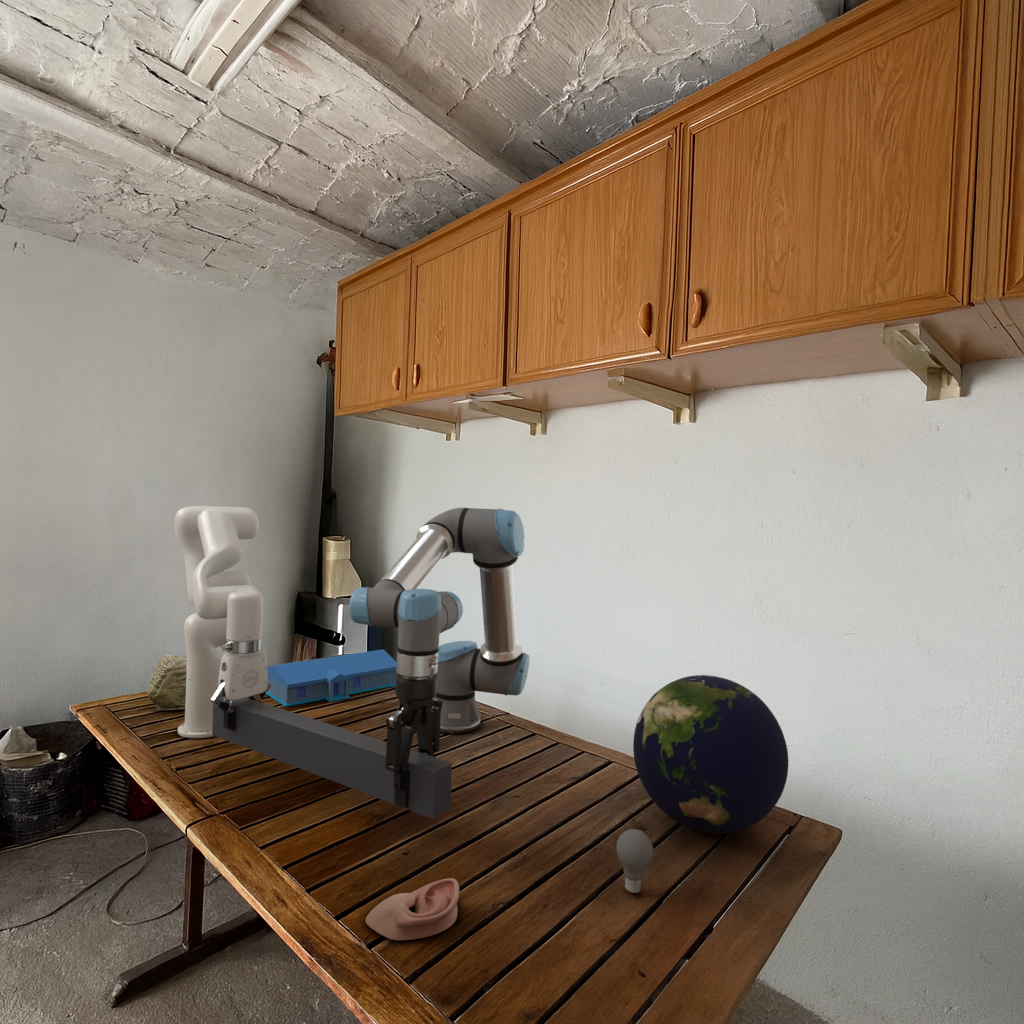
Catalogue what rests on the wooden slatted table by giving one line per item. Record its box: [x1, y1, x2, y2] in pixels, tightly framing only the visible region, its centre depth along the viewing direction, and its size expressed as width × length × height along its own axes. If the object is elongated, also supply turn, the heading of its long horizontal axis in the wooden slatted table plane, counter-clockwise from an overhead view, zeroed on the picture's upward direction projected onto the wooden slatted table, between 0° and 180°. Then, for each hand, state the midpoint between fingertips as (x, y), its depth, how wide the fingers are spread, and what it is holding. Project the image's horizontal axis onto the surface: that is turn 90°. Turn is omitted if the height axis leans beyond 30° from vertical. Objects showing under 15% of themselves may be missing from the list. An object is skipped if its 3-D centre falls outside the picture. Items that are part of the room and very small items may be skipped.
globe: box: [632, 674, 789, 835], centre depth 129 cm, size 30×30×30 cm
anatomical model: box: [365, 877, 460, 942], centre depth 97 cm, size 13×4×12 cm
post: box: [212, 697, 453, 820], centre depth 130 cm, size 65×5×8 cm, turn 58°
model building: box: [265, 649, 397, 707], centre depth 208 cm, size 39×24×10 cm, turn 132°
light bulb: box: [615, 828, 654, 894], centre depth 106 cm, size 6×6×10 cm
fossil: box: [147, 654, 187, 712], centre depth 185 cm, size 9×18×15 cm, turn 132°
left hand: (240, 724), depth 144 cm, fingers closed on post, 5 cm apart
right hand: (411, 798), depth 117 cm, fingers closed on post, 5 cm apart
